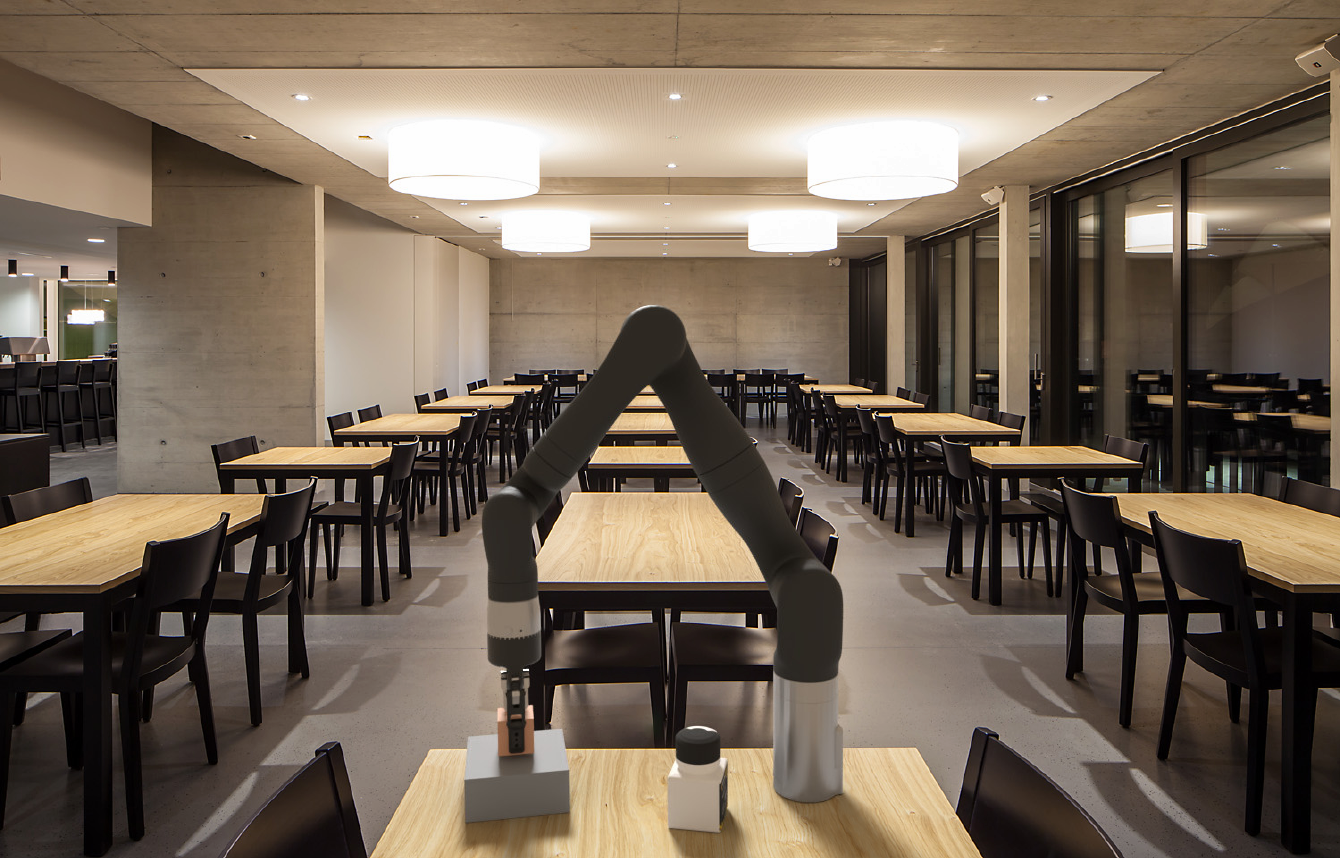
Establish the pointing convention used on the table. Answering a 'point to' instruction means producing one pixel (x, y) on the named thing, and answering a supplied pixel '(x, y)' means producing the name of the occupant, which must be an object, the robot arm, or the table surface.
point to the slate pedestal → (516, 779)
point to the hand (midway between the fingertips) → (516, 743)
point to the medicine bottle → (698, 782)
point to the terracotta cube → (503, 732)
